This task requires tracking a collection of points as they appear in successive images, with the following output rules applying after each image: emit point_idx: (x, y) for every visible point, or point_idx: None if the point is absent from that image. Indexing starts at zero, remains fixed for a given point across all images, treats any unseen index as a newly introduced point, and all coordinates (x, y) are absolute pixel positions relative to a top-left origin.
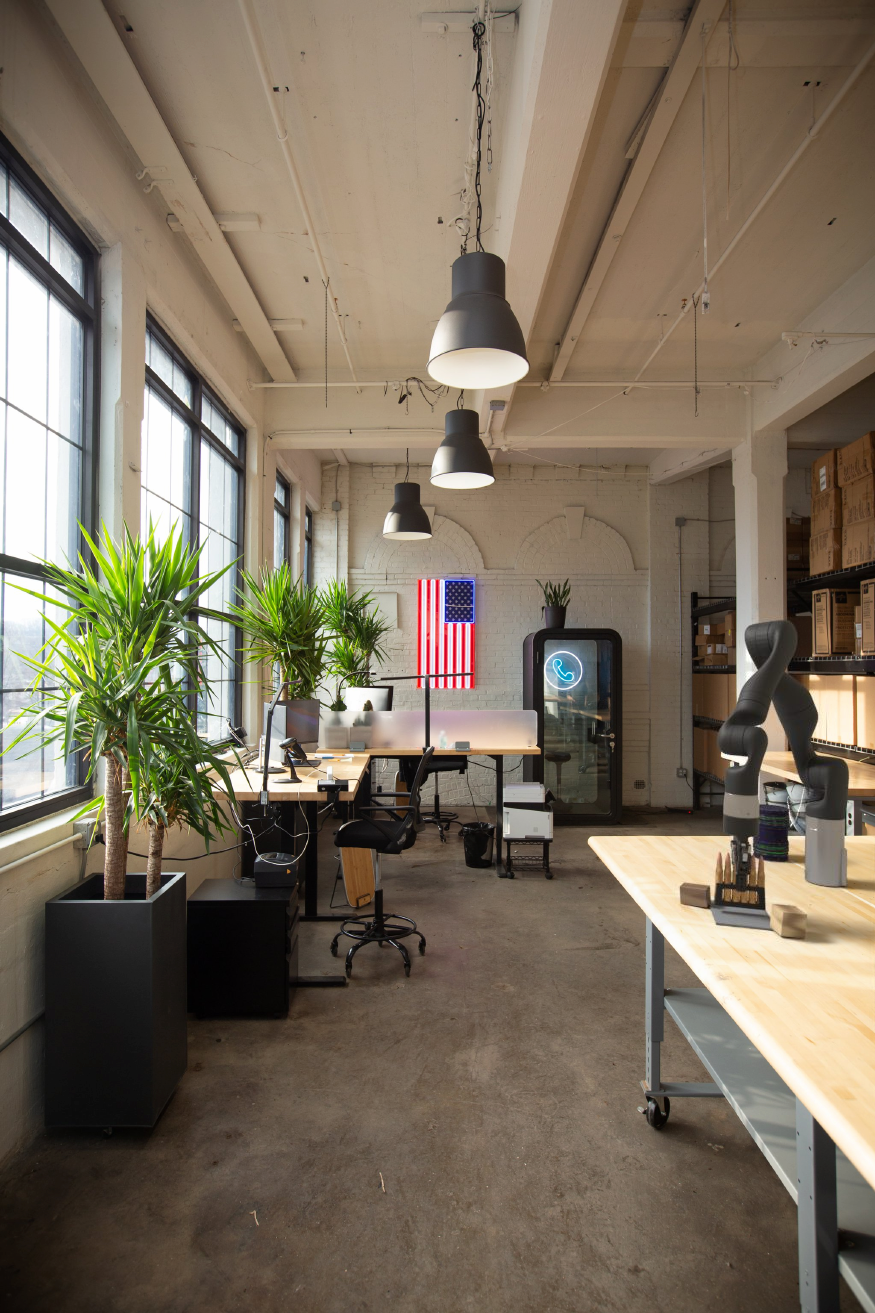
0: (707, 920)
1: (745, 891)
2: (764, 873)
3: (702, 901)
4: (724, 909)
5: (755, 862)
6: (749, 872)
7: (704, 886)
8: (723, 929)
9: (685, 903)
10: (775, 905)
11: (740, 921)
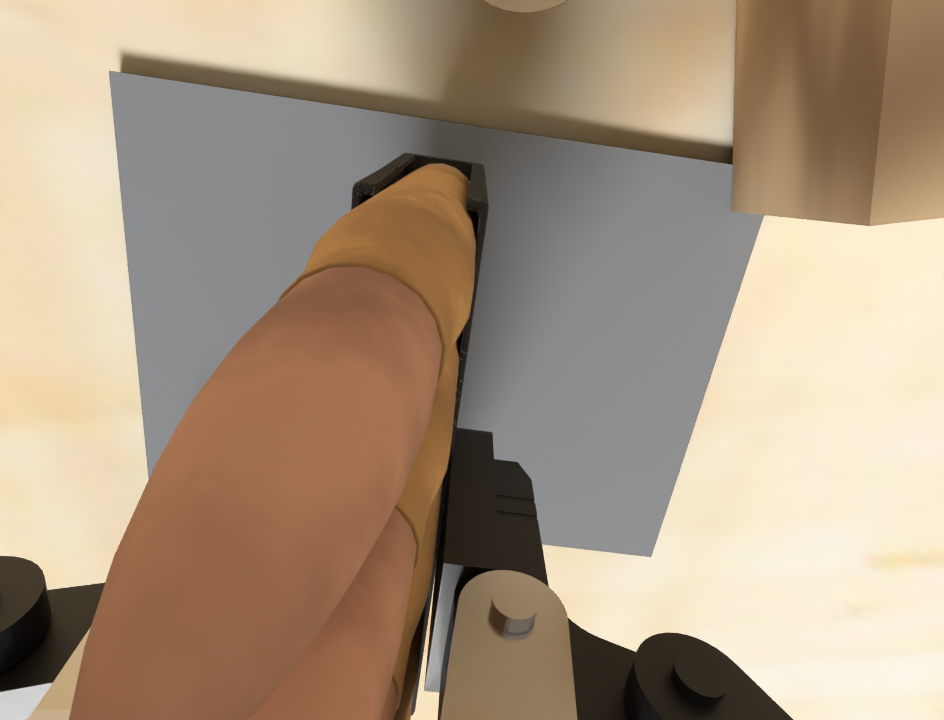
0: (568, 574)
1: (488, 435)
2: (424, 237)
3: None
4: None
5: (341, 627)
6: (731, 681)
7: None
8: (727, 526)
9: None
10: (937, 203)
11: (612, 402)
